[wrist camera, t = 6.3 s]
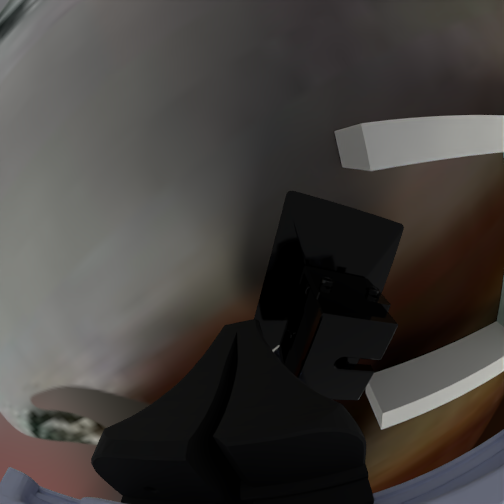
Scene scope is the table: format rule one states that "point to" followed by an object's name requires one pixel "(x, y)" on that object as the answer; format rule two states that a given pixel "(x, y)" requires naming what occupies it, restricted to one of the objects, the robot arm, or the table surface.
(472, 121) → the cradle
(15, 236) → the table surface
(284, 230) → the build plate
